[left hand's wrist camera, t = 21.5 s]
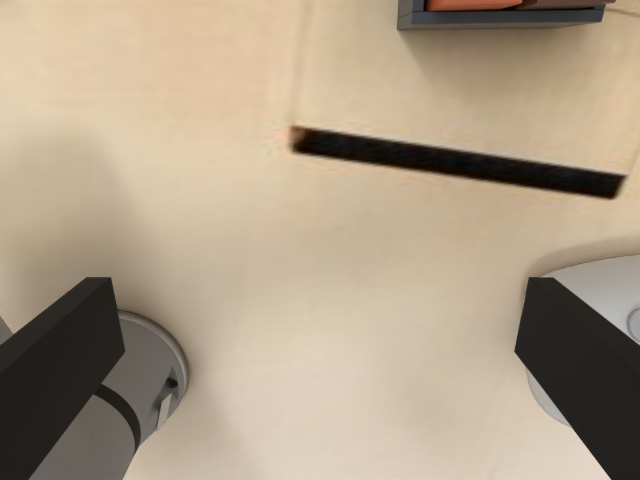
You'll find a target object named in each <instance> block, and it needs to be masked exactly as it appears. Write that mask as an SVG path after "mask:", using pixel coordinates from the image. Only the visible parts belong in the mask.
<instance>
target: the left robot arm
mask: <svg viewBox="0 0 640 480" xmlns="http://www.w3.org/2000/svg"><path fill="white" fill-rule="evenodd" d="M514 352H515V353H516V354H517V356H518V357H519V358H520V360H521V361H522V362H523V363H524V365H525V366H526V367H527V369H528V370H529V371H530V373H531V374H532V375H533V377H534V378H535V379H536V381H537V382H538V383H539V385H540V386H541V387H542V389H543V390H544V391H545V393H546V394H547V395H548V397H549V398H550V399H551V401H552V402H553V403H554V405H555V406H556V407H557V408H558V410H559V411H560V412H561V414H562V415H563V416H564V418H565V419H566V420H567V422H568V423H569V424H570V426H571V427H572V428H573V430H574V431H575V432H576V434H577V435H578V436H579V438H580V439H581V440H582V442H583V443H584V444H585V446H586V447H587V448H588V450H589V451H590V452H591V453H592V455H593V456H594V457H595V459H596V460H597V461H598V463H599V464H600V465H601V467H602V468H603V469H604V471H605V472H606V473H607V475H608V476H609V477H610V479H611V480H640V345H639V344H638V343H636V342H635V341H634V340H633V339H631V338H630V337H629V336H628V335H626V334H625V333H624V332H622V331H621V330H620V329H619V328H617V327H616V326H615V325H614V324H612V323H611V322H610V321H608V320H607V319H606V318H605V317H603V316H602V315H601V314H600V313H598V312H597V311H596V310H594V309H593V308H592V307H591V306H589V305H588V304H587V303H585V302H584V301H583V300H582V299H580V298H579V297H578V296H577V295H575V294H574V293H573V292H571V291H570V290H569V289H568V288H566V287H565V286H564V285H563V284H561V283H560V282H559V281H557V280H556V279H555V278H554V277H529V280H528V285H527V290H526V295H525V300H524V305H523V310H522V316H521V321H520V326H519V331H518V336H517V341H516V346H515V351H514ZM187 383H188V367H187V362H186V359H185V356H184V354H183V352H182V350H181V348H180V347H179V345H178V344H177V342H176V341H175V340H174V339H173V337H172V336H171V335H170V334H169V333H168V332H167V331H165V330H164V329H163V328H162V327H160V326H159V325H157V324H156V323H154V322H153V321H151V320H149V319H147V318H145V317H143V316H140V315H137V314H134V313H131V312H127V311H121V310H117V305H116V300H115V295H114V290H113V285H112V280H111V277H86V278H85V279H84V280H83V281H81V282H80V283H79V284H77V285H76V286H75V287H74V288H72V289H71V290H70V291H69V292H67V293H66V294H65V295H63V296H62V297H61V298H60V299H58V300H57V301H56V302H55V303H53V304H52V305H51V306H49V307H48V308H47V309H46V310H44V311H43V312H42V313H40V314H39V315H38V316H37V317H35V318H34V319H33V320H32V321H30V322H29V323H28V324H26V325H25V326H24V327H23V328H21V329H20V330H19V331H18V332H16V333H15V334H13V333H12V332H11V330H10V329H9V328H8V326H7V325H6V323H5V322H4V321H3V319H2V318H1V317H0V480H122V479H123V477H124V475H125V473H126V471H127V469H128V467H129V465H130V463H131V461H132V459H133V457H134V455H135V453H136V451H137V449H138V447H139V446H140V445H141V444H142V443H143V442H144V441H145V440H146V439H147V438H148V437H149V436H150V435H151V434H152V433H153V432H154V431H155V430H156V429H157V430H158V429H159V428H160V427H161V426H162V425H163V424H164V423H165V422H166V420H167V419H168V418H169V417H170V416H171V414H172V413H173V412H174V410H175V409H176V408H177V406H178V405H179V403H180V401H181V399H182V397H183V394H184V392H185V390H186V387H187ZM157 430H156V431H157Z"/></svg>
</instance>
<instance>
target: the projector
mask: <svg viewBox="0 0 640 480" xmlns="http://www.w3.org/2000/svg"><path fill="white" fill-rule="evenodd" d="M541 277H554V278H555V279H556V280H557V281H559V282H560V283H561V284H563V285H564V286H565V287H566V288H568V289H569V290H570V291H571V292H573V293H574V294H575V295H577V296H578V297H579V298H580V299H582V300H583V301H584V302H585V303H587V304H588V305H589V306H591V307H592V308H593V309H594V310H596V311H597V312H598V313H600V314H601V315H602V316H603V317H605V318H606V319H607V320H608V321H610V322H611V323H612V324H614V325H615V326H616V327H617V328H619V329H620V330H621V331H622V332H624V333H625V334H626V335H628V336H629V337H630V338H631V339H633V340H634V341H635V342H636V343H638V344H639V345H640V255H632V256H624V257H617V258H610V259H604V260H598V261H592V262H588V263H583V264H578V265H574V266H570V267H566V268H562V269H559V270H556V271H553V272H550V273H548V274H545V275H543V276H541ZM525 295H526V294H525ZM524 300H525V297H524ZM524 300H523V305H524ZM523 305H522V310H523ZM526 371H527V377H528V382H529V385H530V389H531V391H532V394H533V396H534V397H535V399H536V401H537V402H538V404H539V405H540V406H541V407H542V409H543V410H544V411H545V412H546V413H548V414H549V415H550V416H551V417H553V418H554V419H555V420H557V421H559V422H560V423H562V424H564V425H567V426H569V427H571V426H570V424H569V423H568V422H567V420H566V419H565V418H564V416H563V415H562V414H561V412H560V411H559V410H558V408H557V407H556V406H555V405H554V403H553V402H552V401H551V399H550V398H549V397H548V395H547V394H546V393H545V391H544V390H543V389H542V387H541V386H540V385H539V383H538V382H537V381H536V379H535V378H534V377H533V375H532V374H531V373H530V371H529V370H528V369H527V367H526ZM571 428H572V427H571Z"/></svg>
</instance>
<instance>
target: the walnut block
mask: <svg viewBox="0 0 640 480" xmlns="http://www.w3.org/2000/svg"><path fill="white" fill-rule="evenodd" d="M615 1H616V0H522V3H520V4H517V5H513V6H510V7H506V8H503V9H499V10H496V11H510V10H579V9H584V8H589V7H594V6H599V5H604V4H609V3H614V2H615Z"/></svg>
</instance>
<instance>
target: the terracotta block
mask: <svg viewBox="0 0 640 480" xmlns="http://www.w3.org/2000/svg"><path fill="white" fill-rule="evenodd" d="M520 3H522V0H424V7H423V12H433V11H496V10H499V9H503V8H506V7H510V6H513V5H517V4H520Z"/></svg>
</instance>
